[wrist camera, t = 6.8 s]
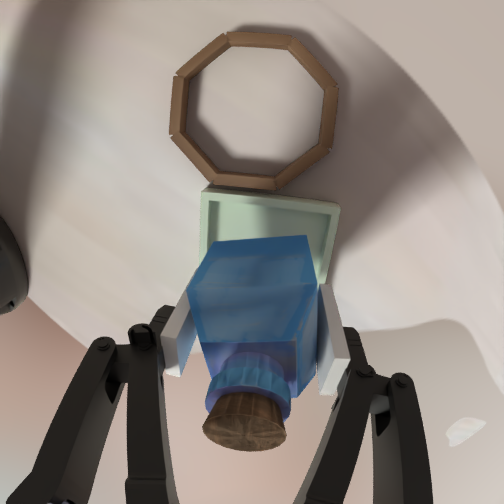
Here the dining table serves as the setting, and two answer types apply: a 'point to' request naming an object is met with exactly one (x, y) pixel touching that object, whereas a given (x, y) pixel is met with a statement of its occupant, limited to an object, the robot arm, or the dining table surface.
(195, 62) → the ring
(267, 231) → the tray
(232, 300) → the perfume bottle
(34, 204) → the dining table surface
